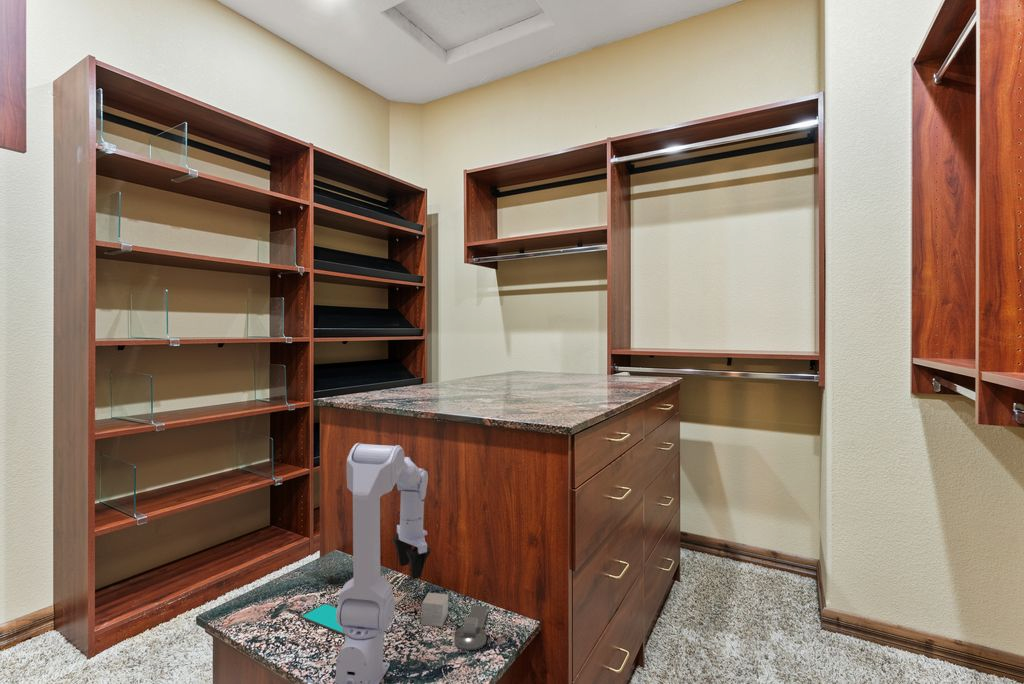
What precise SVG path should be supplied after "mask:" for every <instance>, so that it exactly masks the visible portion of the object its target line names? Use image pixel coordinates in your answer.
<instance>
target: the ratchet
mask: <svg viewBox="0 0 1024 684" xmlns="http://www.w3.org/2000/svg"><path fill="white" fill-rule="evenodd" d="M488 609H489V607H488V606H487V605H486V606H485V605H483V606H482V605H472V608H471V610H470V614H469V616H466V617H465V619H464V622H463V626H461V627H459V628H457V629H456V630H455V632H454V636H453V637H454V638H453V644H454V646H455V647H456V648H457V649H459V650H462V651H465V650H475V651H478V650H481V649H482V648H484V647H485V645H486V643H487V632H486V630H485V629H484V628H483V627H484V625H485V622H486V618H487V616H488V611H489V610H488ZM483 646H484V647H483ZM480 648H481V649H480ZM477 649H478V650H477Z"/></svg>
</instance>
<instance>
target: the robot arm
mask: <svg viewBox="0 0 1024 684" xmlns="http://www.w3.org/2000/svg"><path fill="white" fill-rule="evenodd" d="M411 459H412V458H411V457H410V456H405V452H404V448H402V446H401V445H399V444H396V445H383V444H370V443H369V444H368V443H362V442H357V443H354V445H353V446H352V448H351V449H350V451H349V453H348V456H347V457H346V488H347V490H349V491H350V492H351V493H352V550H353V551H352V554H353V557H352V558H353V561H352V562H353V563H352V567H353V568H352V570H353V571H352V572H353V577H352V578H351V579H349V580H348V581H347V582H345V584H344V585H343V586H342V587H343V588H342V589H341V591H340V593H339V601H337V606H336V607H337V611H336V620H337V623H338V625H339V626H342V633H345V636H344V643H343V644H342V647H341V648H340V650H339V652H338V653H337V656H336V660H335V661H336V662H335V681H334V683H333V684H380V683H381V682H382V680H383V677H384V676H385V675H386V673H387V671H388V670H389V668H390V664H391V663H389V662H385V661H383V658H384V642H385V631H386V630H388V628H389V627H390V626H391V624H392V622H393V620H394V619H393V618H394V616H395V615H394V614H395V609H396V606H395V600H394V597H393V593H394V592H393V584H392V583H390V582H389V581H388V580H387V579H386V578H385V577H384V576H383V575H382V574H381V497H382V496H383V495H384V496H385V495H386V494H389V493H390V492H392V490H393V488H394V486H395V485H396V487H397V488H396V489H397V491H398V492H400V507H399V508H400V509H399V512H400V513H399V524H397V525H396V533H397V535H395V536H392V538H391V539H392V542H393V543H394V546H395V548H396V552H397V557H398V561H399V566H400V567H404V566H408V565H409V567H410V576H411V580H415V579H420V578H421V577H422V574H423V570H424V566H425V564H426V562H427V559H428V557H429V555H430V554H431V551H432V549H431V548H430V547H429V546H428V543H427V542H426V540H425V536H427V535H428V531H427V530H426V529H424V512H425V511H424V510H425V509H424V508H425V507H424V506H425V498H426V497H427V496H426V495H427V487H428V483H429V474H428V471H427V470H425V468H419V467H418V466H417V465H416V464H415V463H414V462H413V461H412V460H411Z"/></svg>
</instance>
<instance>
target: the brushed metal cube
mask: <svg viewBox="0 0 1024 684" xmlns="http://www.w3.org/2000/svg"><path fill="white" fill-rule="evenodd" d="M448 612H449V593H447V594H445V593H439V592H438V593H437V592H428V593H427V594H426V595H425V598H424V599H423V601H422V603H421V620H420V621H421V622H420V623H421V624H420V625H421V626H428V627H429V626H430V627H440V628H442V627H443V626H444V624H445V622H446V619H447V618H448V615H449V614H448Z"/></svg>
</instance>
